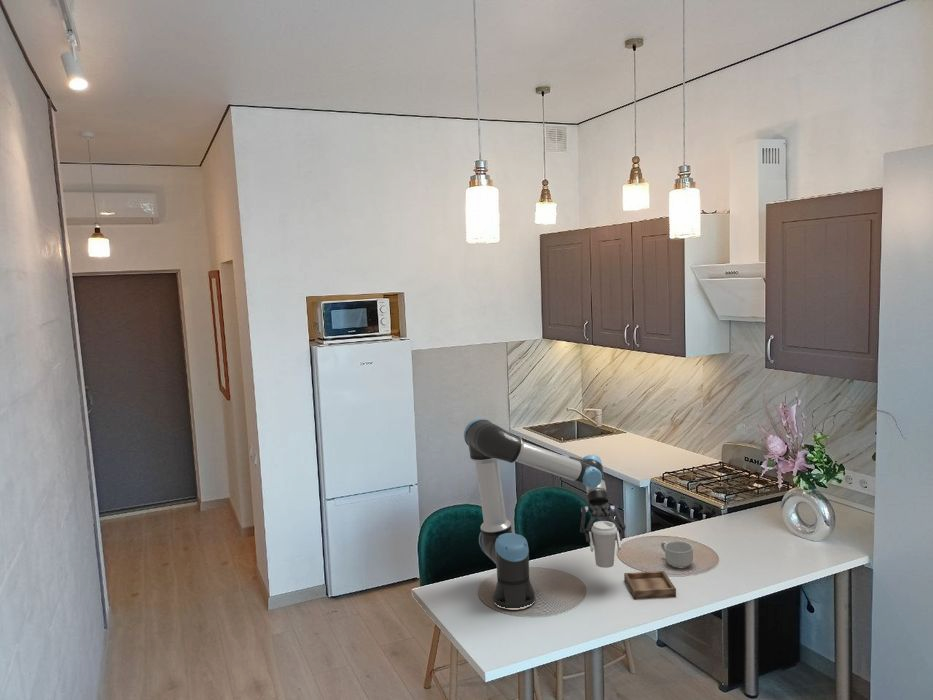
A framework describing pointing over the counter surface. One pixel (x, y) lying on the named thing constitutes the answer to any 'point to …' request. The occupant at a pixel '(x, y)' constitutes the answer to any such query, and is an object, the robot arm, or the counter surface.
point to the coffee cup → (604, 543)
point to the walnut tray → (649, 585)
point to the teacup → (678, 553)
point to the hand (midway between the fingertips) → (606, 549)
